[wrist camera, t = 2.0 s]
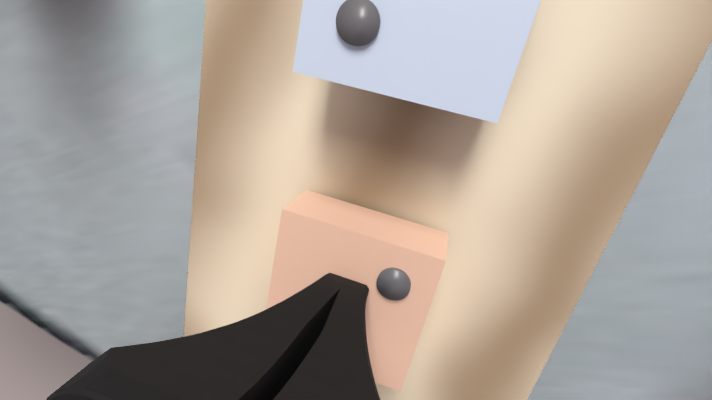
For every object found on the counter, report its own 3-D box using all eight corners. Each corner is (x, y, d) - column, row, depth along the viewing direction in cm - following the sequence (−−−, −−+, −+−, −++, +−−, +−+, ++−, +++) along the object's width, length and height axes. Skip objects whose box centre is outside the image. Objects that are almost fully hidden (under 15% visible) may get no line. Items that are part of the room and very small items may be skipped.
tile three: (448, 232, 13) (445, 263, 11) (408, 351, 14) (399, 395, 13) (306, 189, 14) (279, 210, 12) (285, 306, 15) (259, 341, 13)
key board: (764, -150, 10) (834, -200, 8) (440, 526, 20) (437, 572, 18) (260, -212, 12) (223, -262, 10) (199, 422, 22) (176, 454, 20)
